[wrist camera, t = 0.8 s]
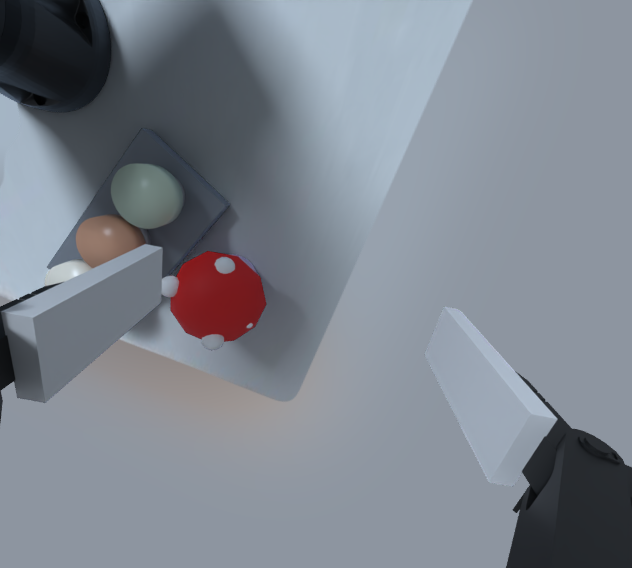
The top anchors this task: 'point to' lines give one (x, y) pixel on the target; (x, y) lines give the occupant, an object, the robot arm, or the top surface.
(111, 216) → the terracotta cap
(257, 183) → the top surface
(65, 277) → the white flat dome
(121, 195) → the sage cap
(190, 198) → the button board
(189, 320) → the mushroom
